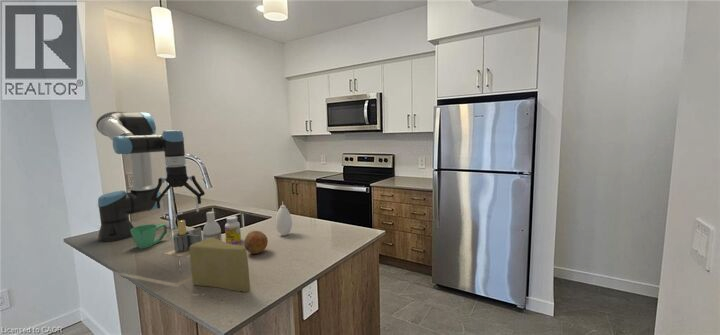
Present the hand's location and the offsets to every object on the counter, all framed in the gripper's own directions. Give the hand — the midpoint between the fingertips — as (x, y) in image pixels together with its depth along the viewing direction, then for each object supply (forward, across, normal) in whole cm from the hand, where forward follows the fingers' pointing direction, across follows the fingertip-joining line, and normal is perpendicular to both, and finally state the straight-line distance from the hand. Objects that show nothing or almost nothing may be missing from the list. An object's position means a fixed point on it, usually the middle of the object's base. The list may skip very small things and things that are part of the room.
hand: (180, 213), depth 135 cm
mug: (+18, -15, +14) cm, 27 cm away
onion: (+18, +29, -18) cm, 39 cm away
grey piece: (+16, +4, 0) cm, 17 cm away
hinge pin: (+16, 0, 0) cm, 17 cm away
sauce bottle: (+18, +45, -1) cm, 48 cm away
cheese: (+17, +16, -43) cm, 49 cm away
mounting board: (+18, +3, -1) cm, 18 cm away
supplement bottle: (+18, +21, -1) cm, 27 cm away
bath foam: (+18, +12, -15) cm, 26 cm away
